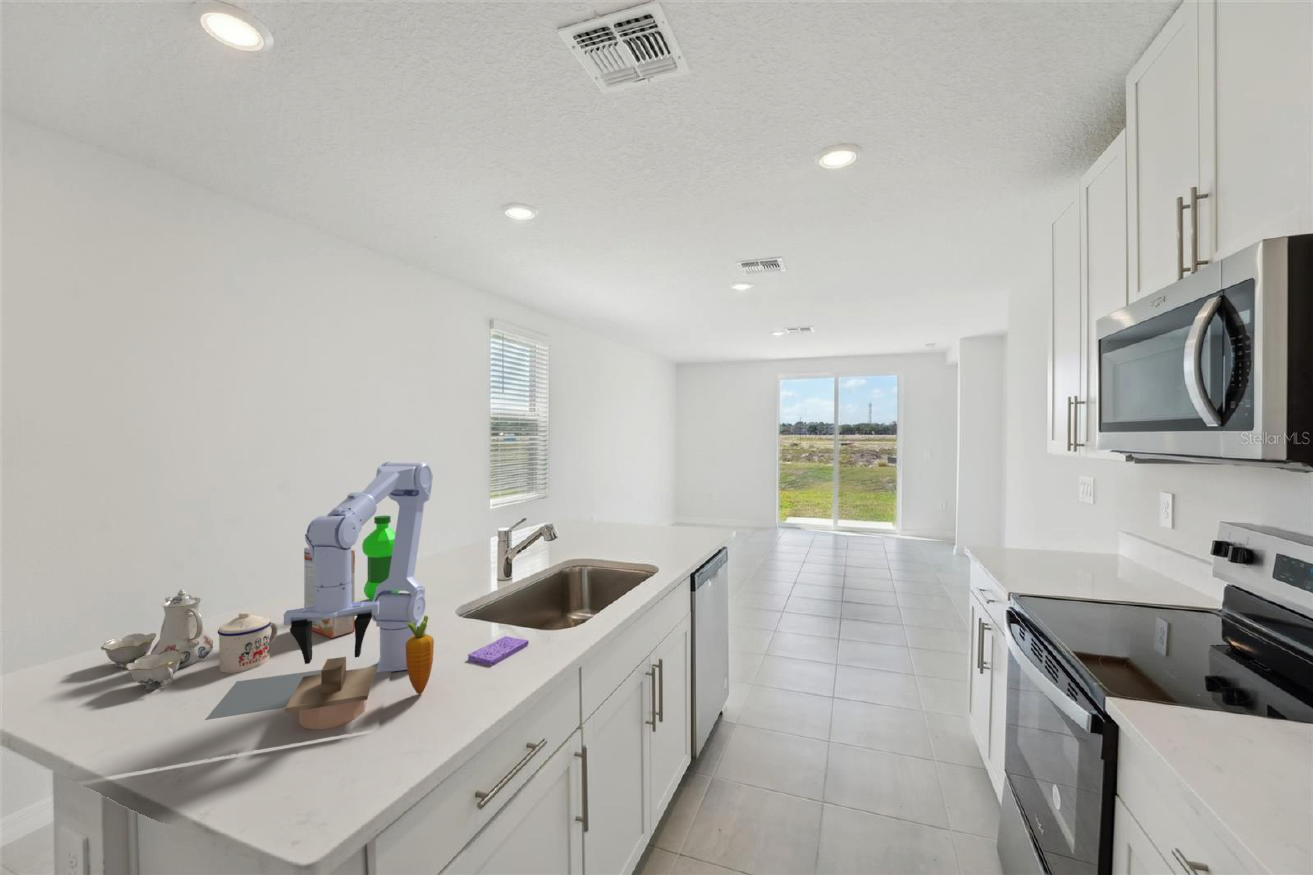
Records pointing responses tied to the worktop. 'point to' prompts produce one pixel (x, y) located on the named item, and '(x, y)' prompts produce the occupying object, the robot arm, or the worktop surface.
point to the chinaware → (164, 644)
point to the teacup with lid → (245, 643)
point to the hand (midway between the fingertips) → (333, 658)
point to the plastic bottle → (378, 554)
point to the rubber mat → (259, 694)
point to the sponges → (497, 650)
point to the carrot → (419, 656)
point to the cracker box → (324, 626)
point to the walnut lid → (332, 686)
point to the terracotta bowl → (331, 715)
